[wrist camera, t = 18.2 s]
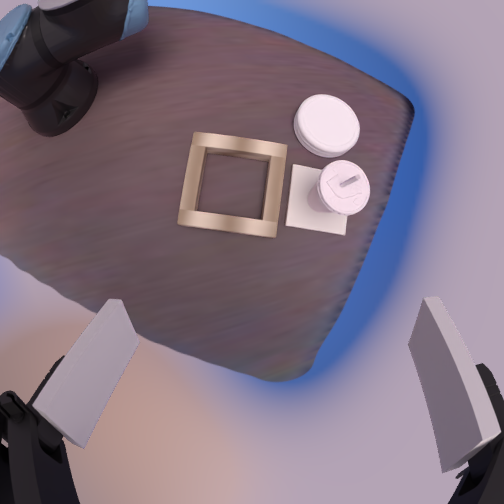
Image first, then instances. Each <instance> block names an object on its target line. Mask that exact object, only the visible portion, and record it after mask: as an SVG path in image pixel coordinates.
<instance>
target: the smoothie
mask: <svg viewBox="0 0 504 504" xmlns="http://www.w3.org/2000/svg"><path fill="white" fill-rule="evenodd" d="M369 195H370V186H369V182H368V179H367V177H366V175H365V173H364V172H363V171H362V170H361V168H359V167H358V166H357V165H356V164H354V163H352V162H349V161H345V160H338V161H334V162H332V163H330V164H329V165H327V166H326V167H325V168H324V169H322V171H321V173H320V174H319V177H318V181H317V182H316V184H315V185H314V187H313V188H312V189H311V191H310V192H309V194H308V204H309V206H310V207H311V208H312V209H313V210H314V211H316V212H326V213H335V214H338V215H345V216H348V215H352V214H354V213H357V212H359V211H360V210H362V209H363V208H364V206H365V205H366V204H367V202H368V199H369Z"/></svg>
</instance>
